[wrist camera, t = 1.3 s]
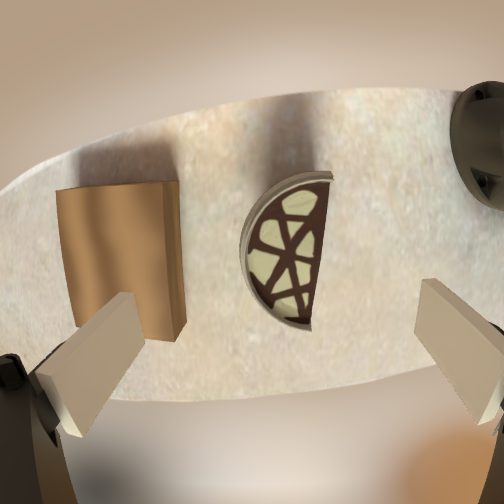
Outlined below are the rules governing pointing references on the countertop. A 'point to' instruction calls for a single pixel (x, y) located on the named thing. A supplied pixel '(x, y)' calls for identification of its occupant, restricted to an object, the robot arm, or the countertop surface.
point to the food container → (286, 246)
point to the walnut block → (125, 252)
